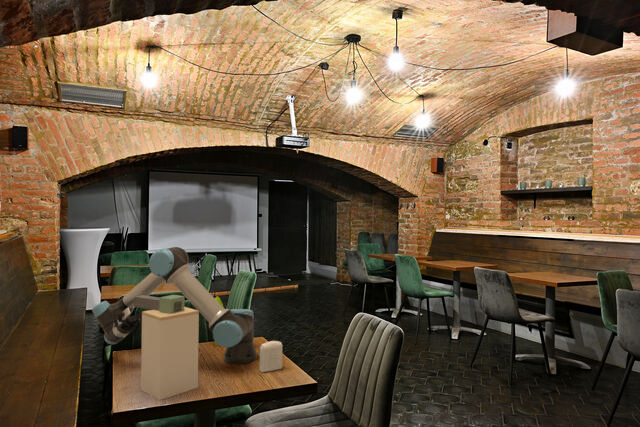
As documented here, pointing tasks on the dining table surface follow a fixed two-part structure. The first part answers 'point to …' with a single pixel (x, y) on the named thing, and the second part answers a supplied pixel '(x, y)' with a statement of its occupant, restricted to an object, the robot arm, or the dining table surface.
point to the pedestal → (169, 352)
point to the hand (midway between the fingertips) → (145, 308)
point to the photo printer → (270, 356)
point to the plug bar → (161, 303)
